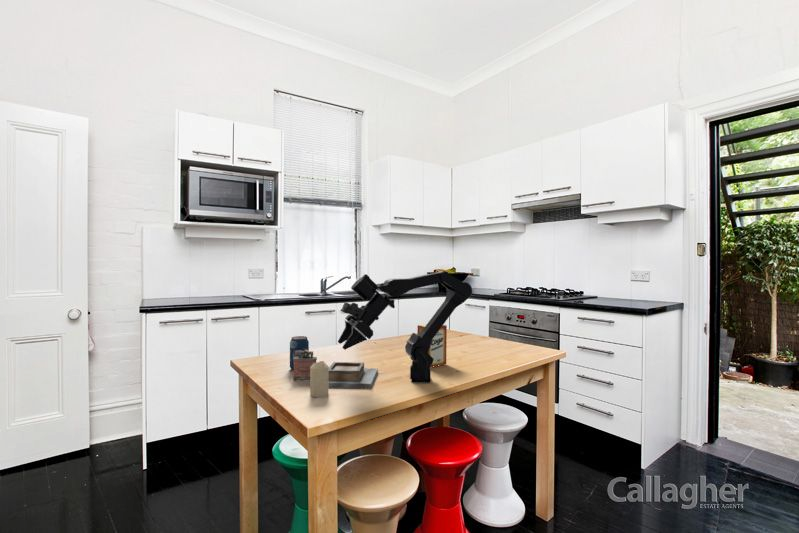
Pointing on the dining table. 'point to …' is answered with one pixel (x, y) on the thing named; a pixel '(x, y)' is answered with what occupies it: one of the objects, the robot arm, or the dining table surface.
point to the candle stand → (351, 375)
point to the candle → (319, 379)
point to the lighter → (303, 364)
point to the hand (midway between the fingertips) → (341, 345)
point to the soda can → (297, 347)
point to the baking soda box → (437, 345)
